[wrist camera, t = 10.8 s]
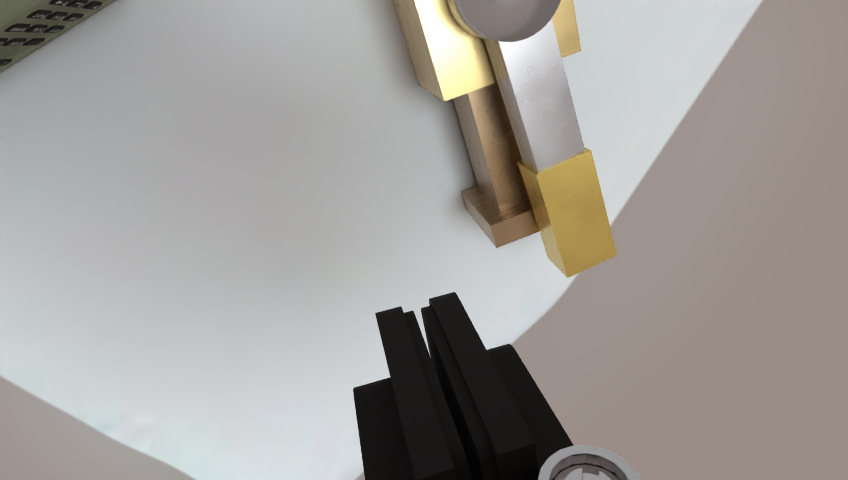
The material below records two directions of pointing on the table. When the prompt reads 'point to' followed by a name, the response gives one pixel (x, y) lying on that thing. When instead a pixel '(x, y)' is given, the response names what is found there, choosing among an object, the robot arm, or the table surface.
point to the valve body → (478, 109)
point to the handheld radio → (38, 24)
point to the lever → (543, 127)
